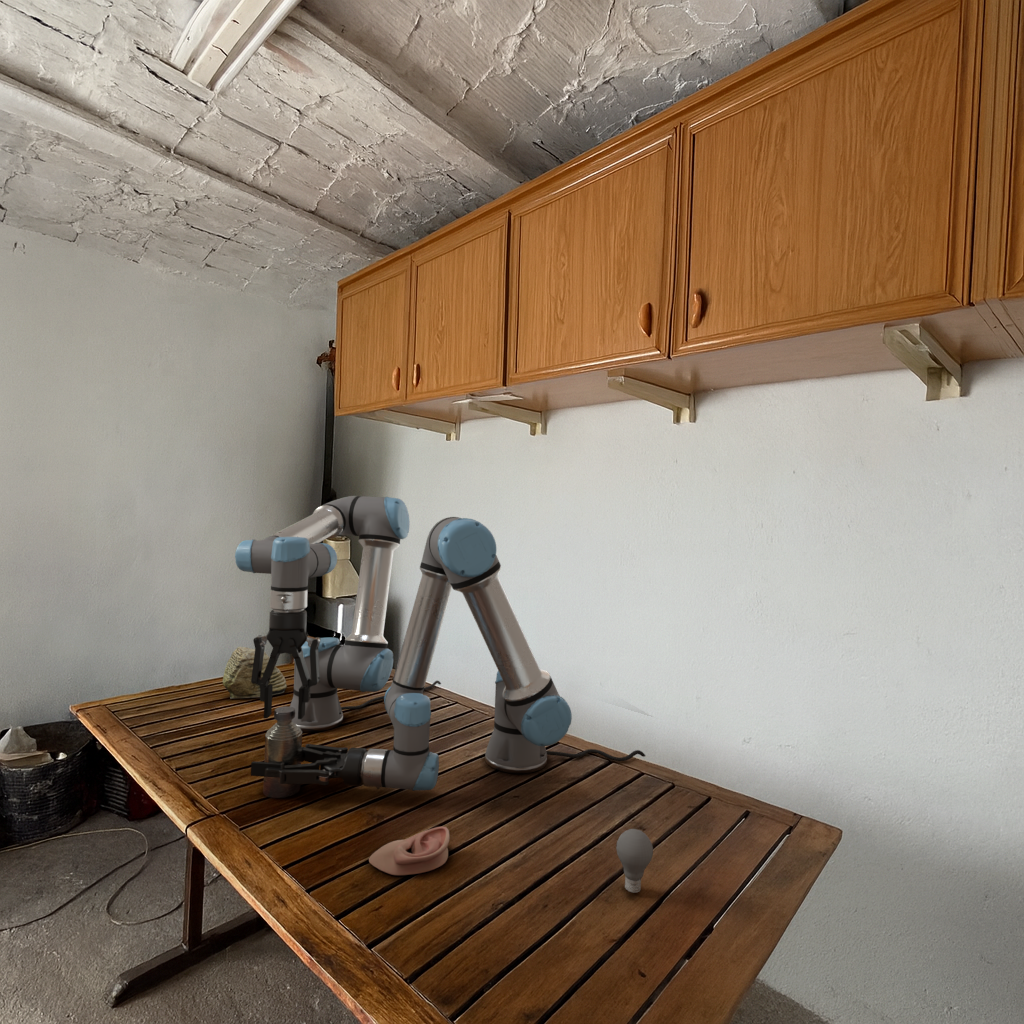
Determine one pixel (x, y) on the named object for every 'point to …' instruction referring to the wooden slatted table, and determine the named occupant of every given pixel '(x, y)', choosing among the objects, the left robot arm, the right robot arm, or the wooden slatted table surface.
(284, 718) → the cap
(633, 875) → the light bulb
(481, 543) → the right robot arm
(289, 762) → the bottle
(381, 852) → the anatomical model
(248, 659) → the fossil
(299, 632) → the left robot arm
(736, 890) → the wooden slatted table surface
